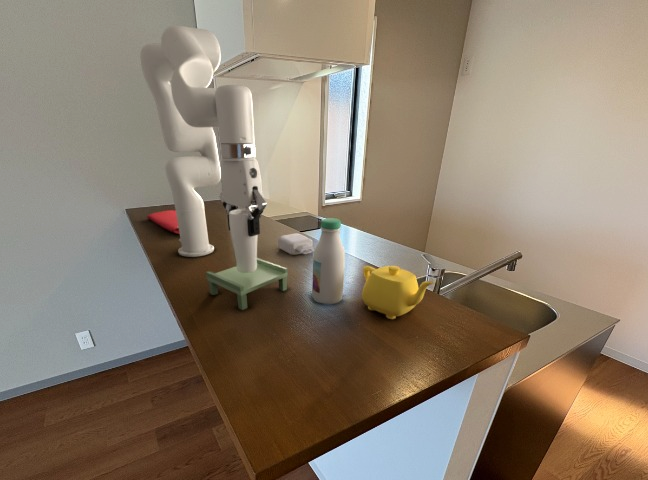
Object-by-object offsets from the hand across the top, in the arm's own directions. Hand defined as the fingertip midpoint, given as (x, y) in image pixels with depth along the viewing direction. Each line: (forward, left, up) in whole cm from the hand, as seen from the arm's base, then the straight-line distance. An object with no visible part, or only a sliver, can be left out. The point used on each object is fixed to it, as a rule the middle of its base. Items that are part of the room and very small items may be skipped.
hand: (244, 231), depth 78 cm
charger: (-11, +33, -17) cm, 38 cm away
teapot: (+33, +16, -17) cm, 40 cm away
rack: (0, 0, -16) cm, 16 cm away
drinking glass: (0, 0, -10) cm, 10 cm away
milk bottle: (+18, +11, -17) cm, 27 cm away
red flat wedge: (-83, +24, -17) cm, 88 cm away
